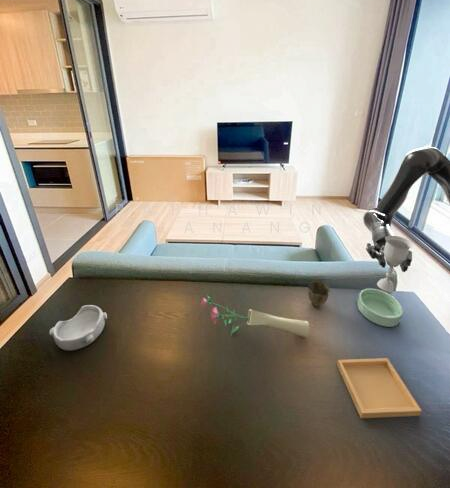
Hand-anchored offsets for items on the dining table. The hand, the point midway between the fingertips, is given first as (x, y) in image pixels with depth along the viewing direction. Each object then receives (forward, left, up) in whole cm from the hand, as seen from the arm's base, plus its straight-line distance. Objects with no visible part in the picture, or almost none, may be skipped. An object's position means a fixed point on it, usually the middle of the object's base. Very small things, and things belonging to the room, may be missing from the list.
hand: (394, 267), depth 78 cm
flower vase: (+45, +3, -22) cm, 50 cm away
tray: (+15, +21, -22) cm, 34 cm away
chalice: (-1, -2, -10) cm, 10 cm away
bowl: (-1, -3, -22) cm, 22 cm away
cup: (+20, -7, -22) cm, 30 cm away
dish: (+101, +2, -22) cm, 103 cm away
